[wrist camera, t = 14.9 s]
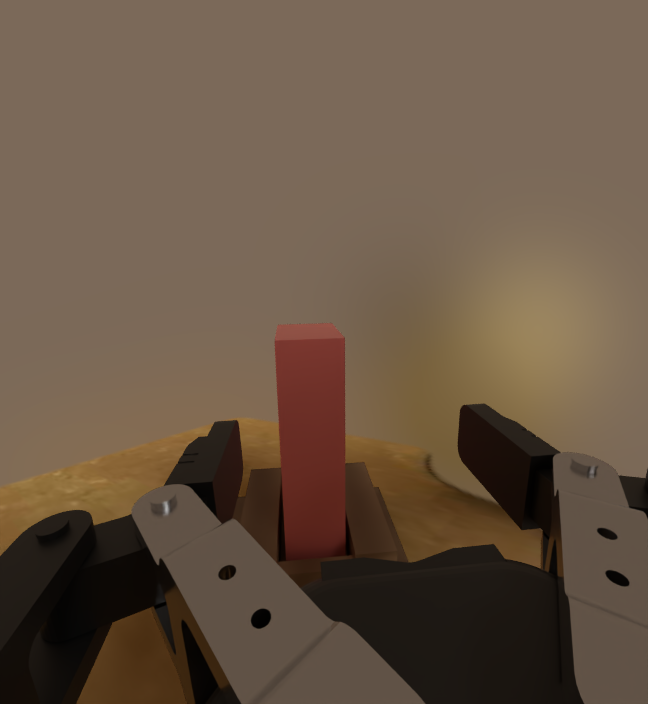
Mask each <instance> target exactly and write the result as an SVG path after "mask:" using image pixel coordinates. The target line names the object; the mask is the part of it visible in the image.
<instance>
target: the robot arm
mask: <svg viewBox="0 0 648 704" xmlns="http://www.w3.org/2000/svg"><path fill="white" fill-rule="evenodd" d="M458 452H459V456H460V458H461V460H462V462H463V463H464V464H465V465H466V467H467V468H468V469H469V470H470V471H471V472H472V474H473V475H474V476H475V477H476V478H477V479H478V480H479V482H480V483H481V484H482V485H483V486H484V487H485V488H486V490H487V491H488V492H489V493H490V494H491V495H492V497H493V498H494V499H495V500H496V501H497V502H498V503H499V505H500V506H501V507H502V508H503V509H504V510H505V511H506V513H507V514H508V515H509V516H510V517H511V518H512V519H513V521H514V522H515V523H516V524H517V525H518V526H519V528H520V529H521V530H527V529H537V528H541V529H542V530H543V531H542V538H541V569H540V568H537V567H535V566H532V565H529V564H525V563H522V562H518V561H513V560H508V559H504V557H503V556H502V555H501V553H500V552H499V550H498V549H497V548H496V546H495V545H494V544H491V545H481V546H471V547H461V548H452V549H450V550H447V551H444V552H442V553H439V554H436V555H433V556H431V557H428V558H425V559H423V560H420V561H417V562H412V563H409V562H400V561H391V560H383V559H374V558H365V557H363V558H353V559H344V560H334V561H324V562H320V564H321V578H319V579H316V580H314V581H312V582H310V583H308V584H306V585H304V586H302V587H301V588H299V586H298V585H297V584H296V583H295V582H294V581H293V580H292V579H291V578H290V577H289V576H288V575H287V574H286V573H285V571H284V570H283V569H282V568H281V567H280V566H279V565H278V564H277V563H276V562H275V561H274V560H273V559H272V558H271V556H270V555H269V554H268V553H267V552H266V551H265V550H264V549H263V548H262V547H261V546H260V545H259V544H258V543H257V542H256V540H255V539H254V538H253V537H252V536H251V535H250V534H249V533H248V532H247V531H246V530H245V529H244V528H243V527H242V525H241V524H240V523H239V522H238V521H237V520H235V519H232V518H233V514H234V510H235V506H236V502H237V498H238V494H239V490H240V486H241V482H242V475H243V460H242V450H241V441H240V431H239V424H238V421H237V420H233V421H218V422H215V423H214V424H213V426H212V428H211V430H210V432H209V434H208V436H205V437H198V438H197V439H196V440H194V441H193V442H192V443H190V444H189V445H188V446H187V448H186V449H185V451H184V453H183V456H181V458H180V459H179V461H178V464H176V466H175V468H174V469H173V471H172V473H171V474H170V476H169V478H168V480H167V481H166V483H165V485H164V486H163V487H159V488H157V489H154V490H152V491H150V492H148V493H147V494H145V495H144V496H142V497H141V498H140V499H139V500H138V501H137V502H136V503H135V504H134V506H133V508H132V513H131V514H130V515H128V516H125V517H122V518H119V519H115V520H112V521H108V522H105V523H101V524H98V525H93V520H92V517H91V514H90V513H88V512H86V511H83V510H71V511H66V512H62V513H58V514H55V515H53V516H50V517H48V518H46V519H43V520H41V521H39V522H38V523H36V524H34V525H33V526H31V527H30V528H28V529H27V530H26V531H24V532H23V533H22V534H21V535H20V536H19V537H18V538H17V539H16V540H15V541H14V542H13V543H12V544H11V545H10V546H9V547H8V549H7V550H6V551H5V552H4V553H3V554H2V555H1V556H0V704H76V703H77V700H78V698H79V696H80V694H81V691H82V689H83V687H84V685H85V683H86V680H87V678H88V676H89V674H90V672H91V669H92V667H93V665H94V663H95V660H96V658H97V656H98V654H99V652H100V649H101V647H102V645H103V643H104V641H105V638H106V636H107V634H108V632H109V630H110V627H111V625H112V622H115V621H117V620H120V619H122V618H125V617H127V616H130V615H132V614H135V613H137V612H140V611H143V610H145V609H148V608H150V607H151V611H152V613H153V615H154V618H155V620H156V623H157V625H158V627H159V630H160V632H161V634H162V637H163V639H164V641H165V644H166V646H167V649H168V651H169V653H170V656H171V658H172V660H173V663H174V665H175V667H176V670H177V673H178V675H179V678H180V681H181V685H182V688H183V692H184V695H185V699H186V702H187V704H648V470H647V474H646V478H638V477H627V476H619V475H618V473H617V472H616V470H615V469H614V468H613V467H612V466H610V465H609V464H607V463H605V462H603V461H601V460H599V459H597V458H594V457H591V456H588V455H584V454H579V453H572V452H569V453H568V452H564V453H560V452H559V451H558V450H556V449H555V448H553V447H552V446H550V445H549V444H548V443H546V442H545V441H543V440H542V439H540V438H539V437H536V436H535V435H534V434H533V433H532V432H530V431H527V429H526V428H524V427H523V426H521V425H520V424H519V423H517V422H515V421H513V420H511V419H508V418H505V417H503V416H502V415H500V414H499V413H497V412H496V411H495V410H493V409H492V408H490V407H489V406H487V405H486V404H472V405H463V406H462V408H461V409H460V418H459V433H458Z"/></svg>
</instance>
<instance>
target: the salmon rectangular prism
mask: <svg viewBox="0 0 648 704" xmlns="http://www.w3.org/2000/svg"><path fill="white" fill-rule="evenodd" d="M275 356H276V357H275V358H276V377H277V396H278V414H279V415H278V416H279V435H280V454H281V473H282V493H283V512H284V531H285V550H286V561H292V560H304V559H315V558H326V557H338V556H346V537H345V338H344V337H343V335H342V334H341V333H340V332H339V331H338V330H337V329H336V328H335V326H334V325H333V324H332V323H320V324H289V325H278V326H277V332H276V336H275Z"/></svg>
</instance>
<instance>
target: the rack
mask: <svg viewBox="0 0 648 704" xmlns="http://www.w3.org/2000/svg"><path fill="white" fill-rule="evenodd" d="M232 519H235V520H237V521H238V522H239V523H240V524H241V525H242V527H243V528H244V529H245V530H246V531H247V532H248V533H249V534H250V535H251V536H252V537H253V538H254V539H255V540H256V542H257V543H258V544H259V545H260V546H261V547H262V548H263V549H264V550H265V551H266V552H267V553H268V554H269V555H270V556H271V558H272V559H273V560H274V561H275V562H276V563H277V564H278V565H279V566H280V567H281V568H282V569H283V570H284V571H285V573H286V574H287V575H288V576H289V577H290V578H291V579H292V580H293V581H294V582H295V583H296V584H297V585H298V586H299V588H301V587H302V586H304V585H306V584H308V583H310V582H312V581H314V580H316V579H319V578H321V564H320V562H324V561H334V560H344V559H353V558H363V557H365V558H374V559H383V560H391V561H400V562H408V560H407V557H406V555H405V552H404V550H403V547H402V545H401V542H400V540H399V537H398V535H397V532H396V530H395V527H394V525H393V522H392V520H391V517H390V515H389V512H388V510H387V507H386V505H385V502H384V500H383V497H382V495H381V492H380V490H379V487H373V485H372V482H371V479H370V477H369V474H368V471H367V469H366V466H365V463H364V462H362V463H346V464H345V537H346V556H338V557H326V558H315V559H304V560H292V561H286V550H285V531H284V512H283V493H282V473H281V468H270V469H255V470H251V474H250V479H249V484H248V488H247V493H246V497H238V498H237V502H236V506H235V510H234V514H233V518H232Z"/></svg>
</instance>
